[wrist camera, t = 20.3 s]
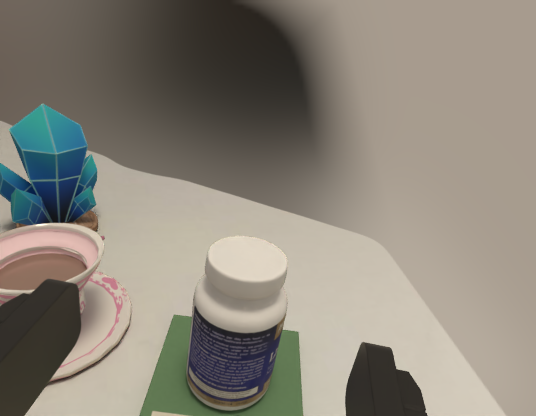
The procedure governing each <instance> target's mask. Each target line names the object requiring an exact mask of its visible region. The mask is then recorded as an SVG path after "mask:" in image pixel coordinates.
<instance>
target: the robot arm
mask: <svg viewBox="0 0 536 416" xmlns="http://www.w3.org/2000/svg"><path fill="white" fill-rule="evenodd" d="M80 332H81V312H80V299H79V288H78V286H77V284H74V283H70V282H65V281H60V280H55V279H46V280H45V281H43V282H42V283H41V284H40V285H39V286H38V287H37V288H36V289H35V290H34V291H33V292H32V293H31V294H25V293H22V294H21V295H19V296H17V297H15V298H13V299H11V300H9V301H7V302H6V303H4V304H2V305H1V306H0V416H24V415H25V414H26V413H27V411H28V410H29V409H30V407H31V406H32V404H33V403H34V402H35V400H36V399H37V398H38V396H39V395H40V393H41V392H42V391H43V389H44V388H45V387H46V385H47V384H48V382H49V381H50V380H51V378H52V377H53V375H54V374H55V373H56V371H57V370H58V369H59V367H60V366H61V364H62V363H63V362H64V360H65V359H66V358H67V356H68V355H69V353H70V352H71V351H72V349H73V348H74V346H75V345H76V343H77V341H78V338H79V335H80ZM345 405H346V416H427V413H425V410H426V408H425V405H424V401H423V397H422V393H421V390H420V388H419V387H418V385H417V384H416V382H415V381H414V379H413V378H412V376H411V375H410V373H409V372H407V371H402V370H397V369H396V366H395V361H394V356H393V352H392V349H391V348H390V347H385V346H380V345H375V344H370V343H365V342H363V343H362V344H361V345H360V348H359V351H358V353H357V356H356V359H355V362H354V365H353V368H352V370H351V373H350V376H349V379H348V383H347V388H346V397H345Z"/></svg>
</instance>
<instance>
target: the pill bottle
mask: <svg viewBox="0 0 536 416" xmlns="http://www.w3.org/2000/svg"><path fill="white" fill-rule="evenodd" d="M287 268H288V261H287V258H286V256H285V254H284V253H283V252H282V251H281V250H280V249H279V248H278V247H277V246H275V245H273V244H272V243H270V242H267V241H265V240H262V239H259V238H254V237H249V236H232V237H227V238H223V239H220V240H218V241H216V242H215V243H213V244H212V245H211V246H210V248H209V250H208V253H207V258H206V264H205V274H204V275H203V276H202V278H201V279H200V280H199V282H198V284H197V286H196V289H195V293H194V299H193V311H192V321H191V330H190V340H189V349H188V358H187V371H186V374H187V381H188V384H189V387H190V389H191V390H192V392H193V393H194V395H195V396H196V397H197V398H198V399H199V400H200V401H202V402H203V403H205V404H206V405H208V406H210V407H213V408H216V409H220V410H229V411H232V410H239V409H243V408H247V407H249V406H251V405H253V404H254V403H256V402H257V401H258V400H259V399H261V398H262V396H263V395H264V394H265V392H266V391H267V389H268V386H269V383H270V380H271V376H272V372H273V368H274V364H275V359H276V355H277V350H278V346H279V342H280V338H281V333H282V329H283V325H284V321H285V316H286V311H287V304H288V303H287V295H286V292H285V290H284V288H283V285H284V283H285V278H286V274H287Z"/></svg>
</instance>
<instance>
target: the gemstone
mask: <svg viewBox="0 0 536 416" xmlns="http://www.w3.org/2000/svg"><path fill="white" fill-rule="evenodd" d="M9 131H10V134H11V136H12V138H13V141H14V143H15V146H16V148H17V151H18V153H19V156H20V158H21V161H22V163H23V166H24V168H25V171H26V173H27V176H28V178H29V180H30V182H31V184H30V183H29V182H28V181H26V180H25V179H23V178H22V177H20V176H19V175H17V174H16V173H14V172H13V171H11V170H10V169H8V168H7V167H5V166H4V165H3V164H1V163H0V194H1V195H2V196H3V197H4V198H6V199H7V200H8V201H9V202H11V214H12V221H13V222H15V223H17V224H16V228H20V227H24V226H29V225H35V224H43V223H69V224H76V225H80V226H84V227H87V228H89V229H91V230H93V231H96V230H97V227H98V219H97V216H96V215H95V213H93V212H92V211H91V210H90V209H92V208H93V207H94V206H96V202H95V198H94V195H93V191H92V190H93V188H94V186H95V183H96V181H97V168H96V165H95V162H94V160H93V157H92V154H91V155H89V156H88V157H87V158H85V156H86V151H87V147H88V145H87V142H86V139H85V137H84V134H83V131H82V128H81V125H79V124H78V123H76V122H74V121H72V120H71V119H69V118H67V117H66V116H64V115H62V114H60V113H59V112H57V111H55V110H53V109H52V108H50V107H48V106H46V105H45V104H41V105H40V106H39V107H37V108H36V109H35V110H34V111H32V112H31V113H30V114H28V115H27V116H26V117H24V118H23V119H22V120H21V121H19V122H18V123H17V124H15V125H14V126H13V127H11V128H10V129H9Z"/></svg>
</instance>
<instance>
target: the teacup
mask: <svg viewBox="0 0 536 416" xmlns="http://www.w3.org/2000/svg"><path fill="white" fill-rule="evenodd" d="M103 240H104V236H100V235H99V234H98V233H96V232H95V231H93V230H91V229H89V228H87V227H84V226H80V225H76V224H69V223H43V224H35V225H29V226H24V227H20V228H16V229H12V230H9V231H6V232H3V233H1V234H0V306H1V305H2V304H4V303H6V302H7V301H9V300H11V299H13V298H15V297H17V296H19V295H21V294H22V293H25V294H31V293H32V292H33V291H34V290H35V289H36V288H37V287H38V286H39V285H40V284H41V283H42V282H43V281H45V280H46V279H55V280H60V281H65V282H70V283H74V284H77V286H78V288H79V299H80V312H81V332H80V335H79V338H78V341H77V343H76V345H75V346H74V348H73V349H72V351H71V352H70V353H69V355H68V356H67V358H66V359H65V360H64V362H63V363H62V364H61V366H60V367H59V369H58V370H57V371H56V373H55V374H54V375H53V377H52V378H51V380H50V381H54V380H57V379H61V378H64V377H68V376H71V375H73V374H75V373H77V372H78V371H80V370H82V369H84V368H86V367H88V366H90V365H91V364H93V363H95V362H97V361H99V360H100V359H101V358H102V357H103V356H104V355H106V354H107V353H108V352H109V351H110V350H111V349H112V348H113V347H114V346H116V345H117V344H118V343H119V341H120V340H121V338H122V336H123V335H124V333H125V331H126V329H127V328H128V326H129V324H130V316H131V308H132V304H131V302H130V299H129V297H128V294H127V291H126V290H125V289H124V288H123V287H122V286H121V285H120V284H119V283H118V282H117V281H116V280H115V279H114V278H112V277H110V276H107V275H105V274H103V273H101V272H99V271H96V269H97V267H98V265H99V263H100V261H101V258H102V256H103V253H104V242H103ZM50 381H49V382H50Z"/></svg>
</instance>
